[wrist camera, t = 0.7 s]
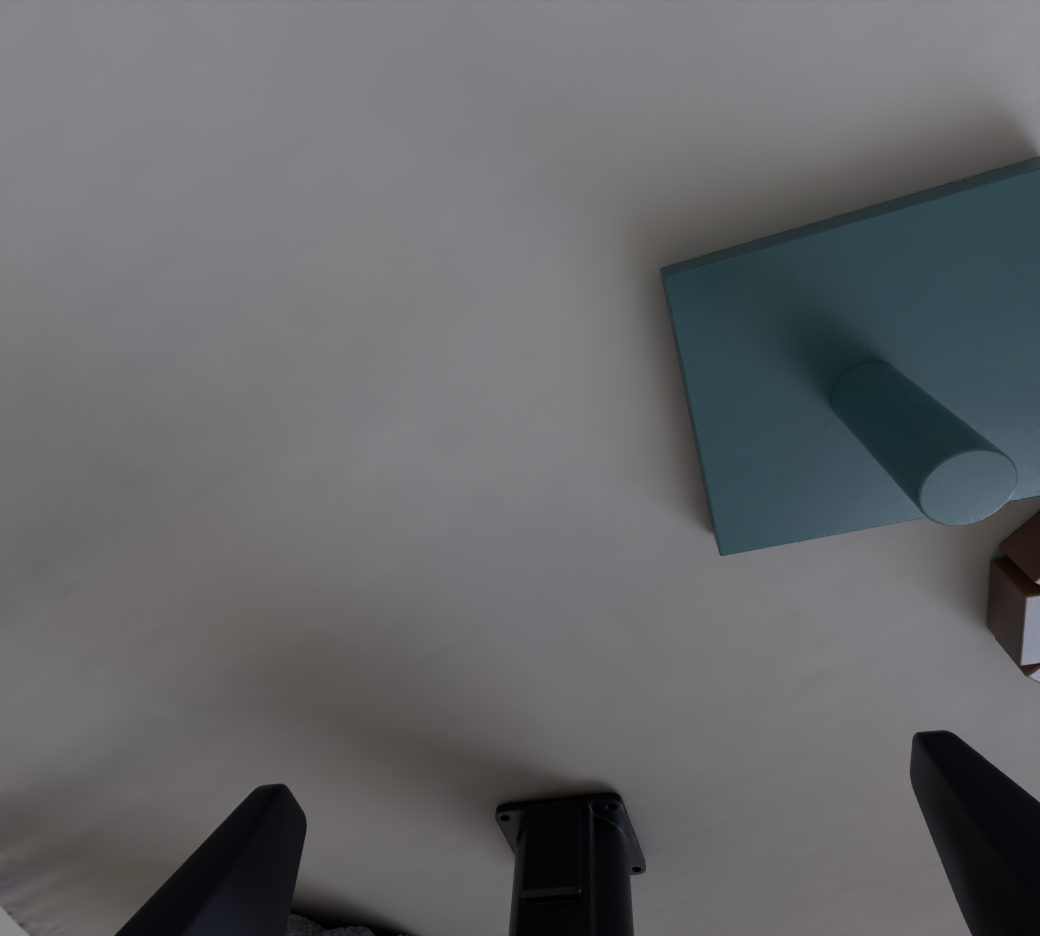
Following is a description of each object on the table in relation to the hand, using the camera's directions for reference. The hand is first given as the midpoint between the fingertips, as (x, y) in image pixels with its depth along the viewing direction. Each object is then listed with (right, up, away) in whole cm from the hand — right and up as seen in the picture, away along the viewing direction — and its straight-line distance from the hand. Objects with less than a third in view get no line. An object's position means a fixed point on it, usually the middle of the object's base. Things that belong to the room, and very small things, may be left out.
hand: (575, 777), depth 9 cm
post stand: (+10, +7, +11) cm, 16 cm away
